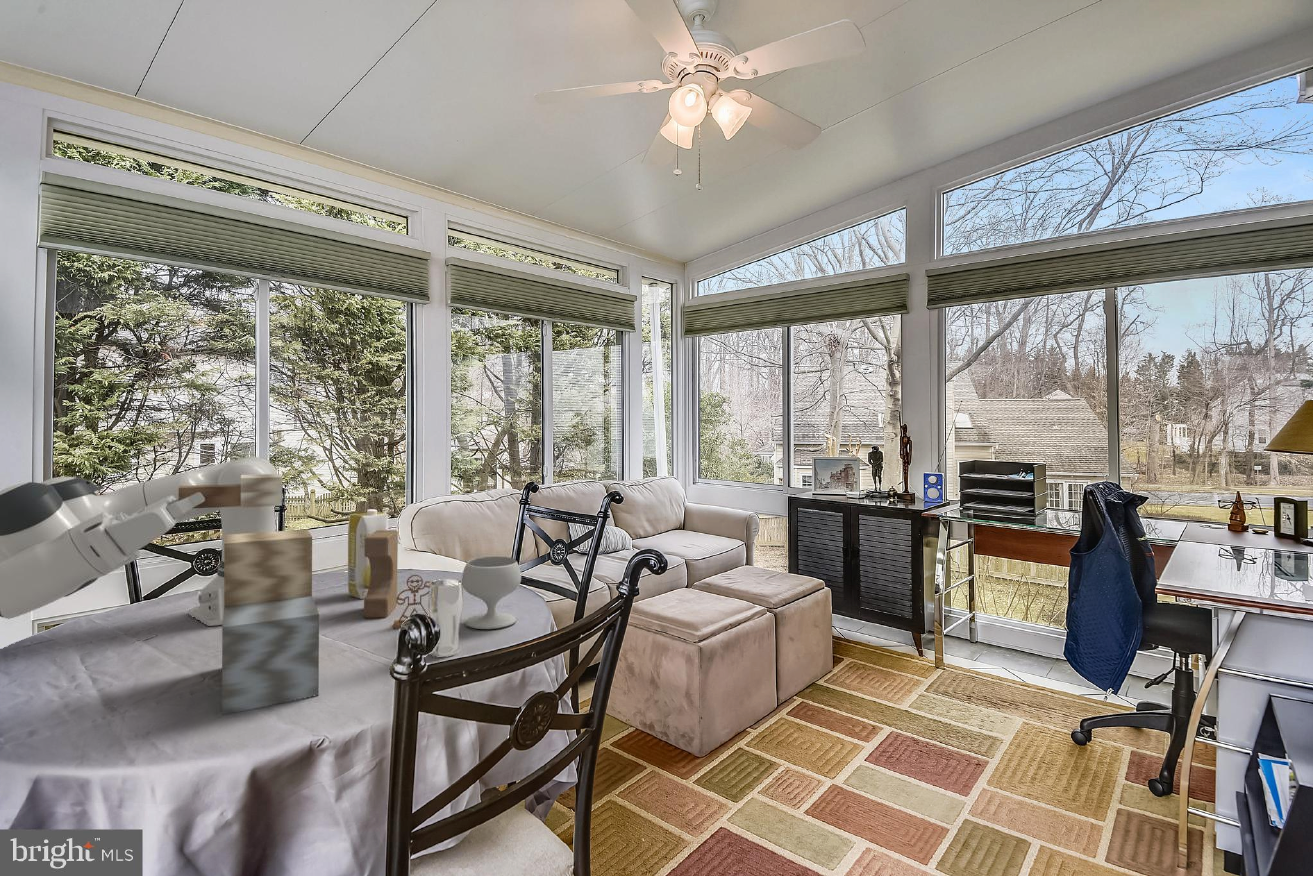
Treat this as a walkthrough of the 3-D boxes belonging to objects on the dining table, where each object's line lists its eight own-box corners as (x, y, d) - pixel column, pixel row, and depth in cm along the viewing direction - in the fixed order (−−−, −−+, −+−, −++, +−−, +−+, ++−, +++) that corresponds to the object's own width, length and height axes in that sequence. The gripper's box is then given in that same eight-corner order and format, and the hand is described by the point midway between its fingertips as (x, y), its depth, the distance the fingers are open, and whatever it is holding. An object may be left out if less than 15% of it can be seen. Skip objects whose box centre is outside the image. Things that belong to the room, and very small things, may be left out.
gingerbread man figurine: (394, 629, 146) (395, 578, 145) (393, 624, 149) (394, 574, 149) (434, 624, 149) (435, 575, 149) (433, 620, 153) (433, 571, 153)
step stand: (221, 714, 102) (222, 557, 102) (225, 667, 122) (225, 534, 121) (318, 695, 110) (319, 549, 109) (306, 653, 129) (307, 529, 129)
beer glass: (442, 661, 127) (443, 588, 126) (420, 654, 130) (421, 582, 130) (469, 651, 133) (470, 581, 132) (447, 644, 136) (448, 576, 136)
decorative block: (387, 618, 154) (387, 537, 153) (362, 618, 153) (363, 537, 152) (398, 605, 165) (398, 529, 164) (375, 605, 164) (376, 530, 163)
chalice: (464, 635, 142) (465, 570, 142) (458, 617, 155) (458, 557, 155) (525, 628, 148) (526, 565, 148) (514, 611, 161) (515, 553, 161)
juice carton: (360, 600, 168) (361, 512, 167) (343, 596, 172) (344, 509, 172) (391, 593, 175) (392, 508, 175) (375, 589, 180) (375, 506, 179)
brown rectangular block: (177, 510, 101) (177, 479, 101) (181, 505, 106) (181, 476, 106) (281, 505, 109) (282, 477, 109) (280, 501, 115) (280, 474, 114)
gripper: (132, 545, 108) (217, 502, 115) (112, 569, 91) (212, 517, 98) (109, 515, 107) (196, 473, 113) (83, 534, 90) (188, 483, 96)
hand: (203, 494), depth 105 cm, fingers closed on brown rectangular block, 3 cm apart
